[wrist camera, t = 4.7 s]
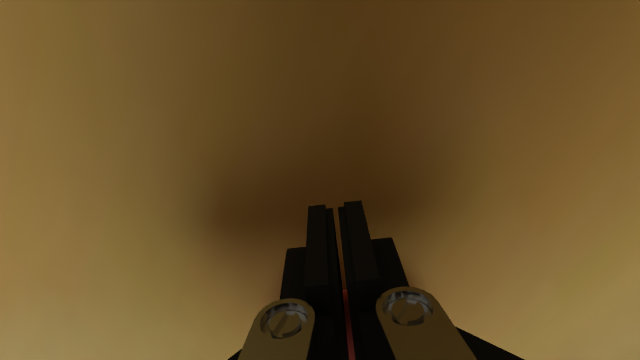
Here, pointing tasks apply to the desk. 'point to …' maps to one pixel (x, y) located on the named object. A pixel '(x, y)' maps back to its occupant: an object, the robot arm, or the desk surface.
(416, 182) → the desk surface
